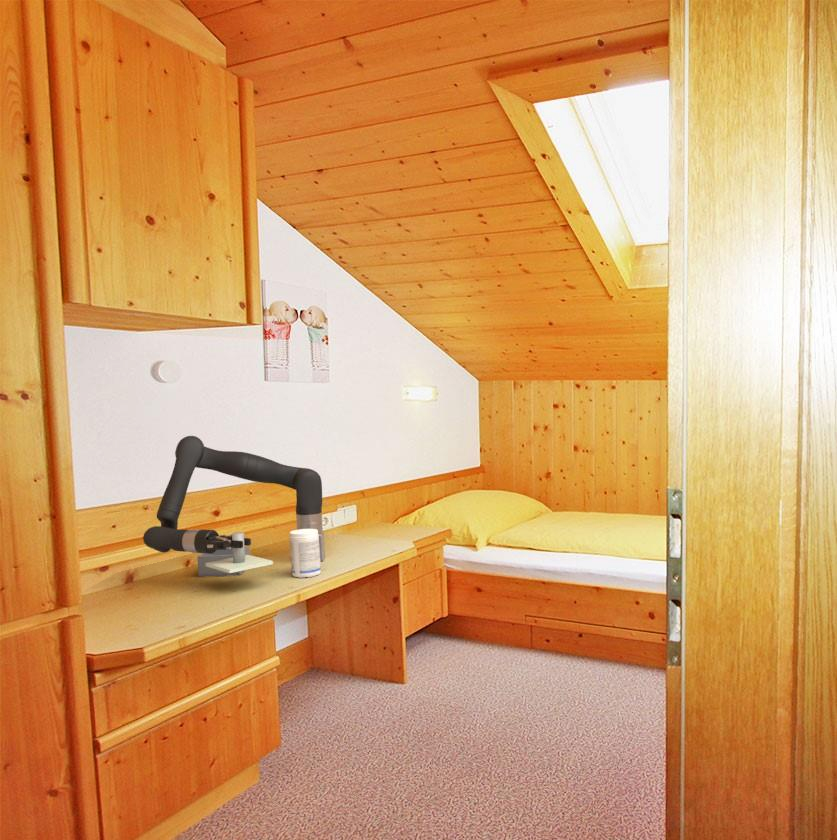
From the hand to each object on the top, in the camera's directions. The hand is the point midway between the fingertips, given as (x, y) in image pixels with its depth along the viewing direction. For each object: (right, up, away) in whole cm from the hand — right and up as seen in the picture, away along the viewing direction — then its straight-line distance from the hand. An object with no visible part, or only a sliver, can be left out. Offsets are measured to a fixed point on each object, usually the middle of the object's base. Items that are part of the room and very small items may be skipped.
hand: (246, 543), depth 224 cm
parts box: (-13, -14, +26) cm, 32 cm away
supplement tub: (+16, -13, +15) cm, 26 cm away
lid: (-2, -7, +1) cm, 8 cm away
